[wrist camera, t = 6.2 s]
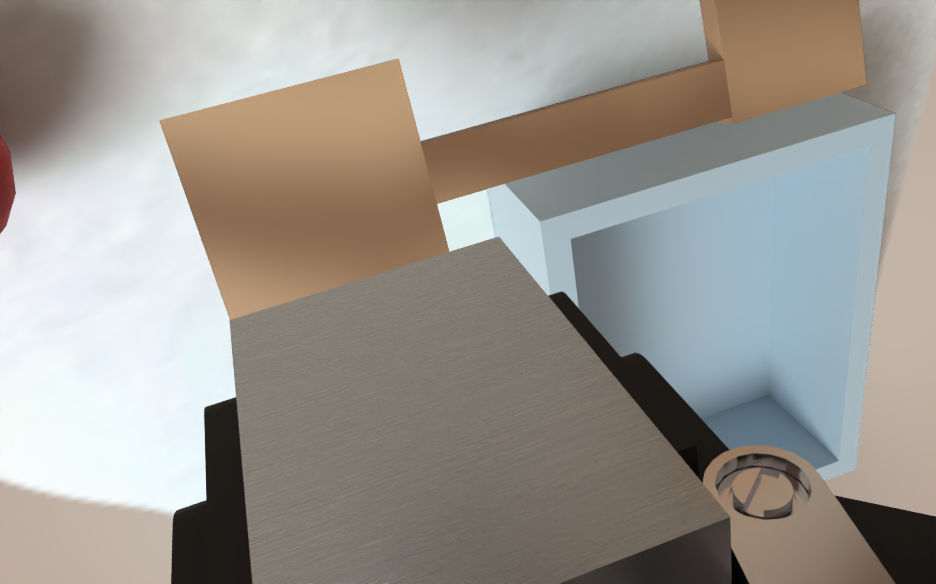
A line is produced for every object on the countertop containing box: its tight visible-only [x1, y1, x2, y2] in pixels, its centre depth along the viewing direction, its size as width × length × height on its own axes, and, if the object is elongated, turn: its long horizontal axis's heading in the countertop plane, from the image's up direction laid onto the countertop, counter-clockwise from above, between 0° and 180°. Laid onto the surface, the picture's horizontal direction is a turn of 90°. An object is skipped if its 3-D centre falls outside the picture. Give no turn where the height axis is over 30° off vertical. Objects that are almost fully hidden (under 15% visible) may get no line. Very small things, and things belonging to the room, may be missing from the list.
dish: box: [487, 92, 896, 481], centre depth 36 cm, size 18×14×6 cm
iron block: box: [230, 237, 732, 584], centre depth 10 cm, size 5×4×6 cm
